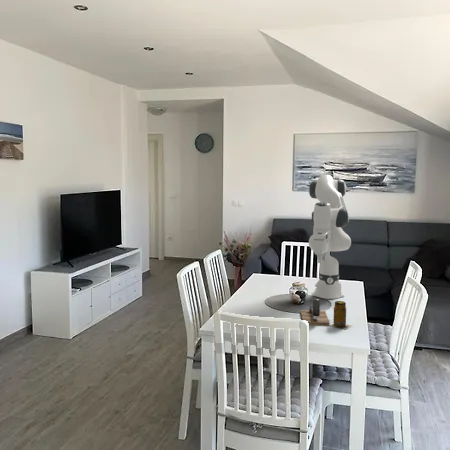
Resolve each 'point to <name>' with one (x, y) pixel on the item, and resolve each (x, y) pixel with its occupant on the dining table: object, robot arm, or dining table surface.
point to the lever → (315, 308)
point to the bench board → (320, 321)
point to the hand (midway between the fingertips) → (321, 261)
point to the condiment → (340, 315)
